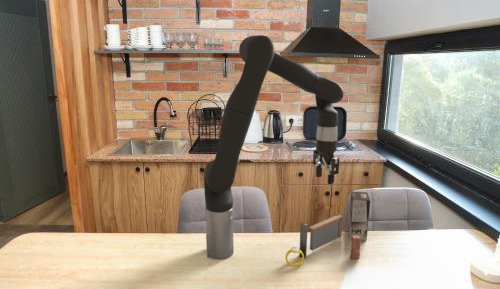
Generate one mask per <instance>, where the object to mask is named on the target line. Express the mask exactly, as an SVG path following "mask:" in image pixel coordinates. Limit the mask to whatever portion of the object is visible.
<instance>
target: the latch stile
mask: <svg viewBox="0 0 500 289" xmlns="http://www.w3.org/2000/svg"><path fill="white" fill-rule="evenodd" d="M350 240H351V242H350V243H351V244H350V254H349V257H350V258H351V260H352V261H359V260H360V254H361V242H362V240H361V238H360V236H359V235H354V236H352V239H350Z"/></svg>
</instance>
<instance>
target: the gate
mask: <svg viewBox="0 0 500 289" xmlns="http://www.w3.org/2000/svg"><path fill="white" fill-rule="evenodd" d="M343 219H344V216H343V215H341V214H335V215H334V216H332V217H330V218H327V219H325V220H322V221H320V222H318V223H316V224H313V225H310V226H309V227H308V233H310V237H309V238H310V240H309V250H310V251H311V252H312V251H313V252H314V251H315V250H317V249H319V248H322V247H323V246H326V245H327V244H328V243H329V244H330V243H331V242H333V241H335V240H337V239H341V238H342V236H343V223H344V222H343Z"/></svg>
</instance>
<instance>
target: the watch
mask: <svg viewBox="0 0 500 289" xmlns="http://www.w3.org/2000/svg"><path fill="white" fill-rule="evenodd" d="M299 249H300V247H298V246H292V247H290V249H289V250H288V251H286V253H285V262H286V263H287V265H289V267H291V266H293V267H294V266H295V267H300V266H301V265H302V264H303V262H304V260H305V258H304V255H303V253H302V251H301V250H299ZM292 253H294V254H297V253H298V254H299V253H301V254H302V258H301V259H300V261H299V262H290V261H289V260H288V256H289V254H292Z"/></svg>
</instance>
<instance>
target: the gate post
mask: <svg viewBox="0 0 500 289" xmlns="http://www.w3.org/2000/svg"><path fill="white" fill-rule="evenodd" d="M308 228H309V227H308V223H307V222H301V223H300V227H299V250H301V251H302V253H303V255H304V259H305V258H307V248H308V244H307V243H308ZM298 254H299V255H298V257H299V258H301V259H302V254H301V253H299V252H298Z"/></svg>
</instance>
